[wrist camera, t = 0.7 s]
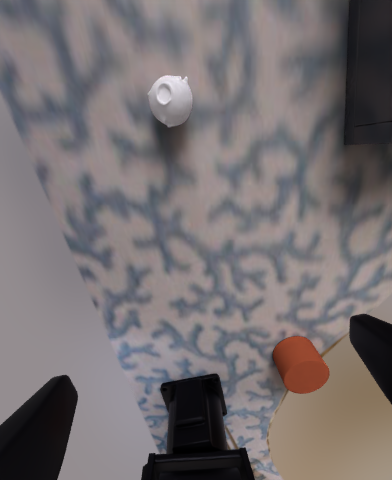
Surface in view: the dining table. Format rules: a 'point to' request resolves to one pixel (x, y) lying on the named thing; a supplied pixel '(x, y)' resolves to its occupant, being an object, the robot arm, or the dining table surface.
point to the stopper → (300, 365)
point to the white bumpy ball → (171, 100)
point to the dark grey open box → (369, 73)
